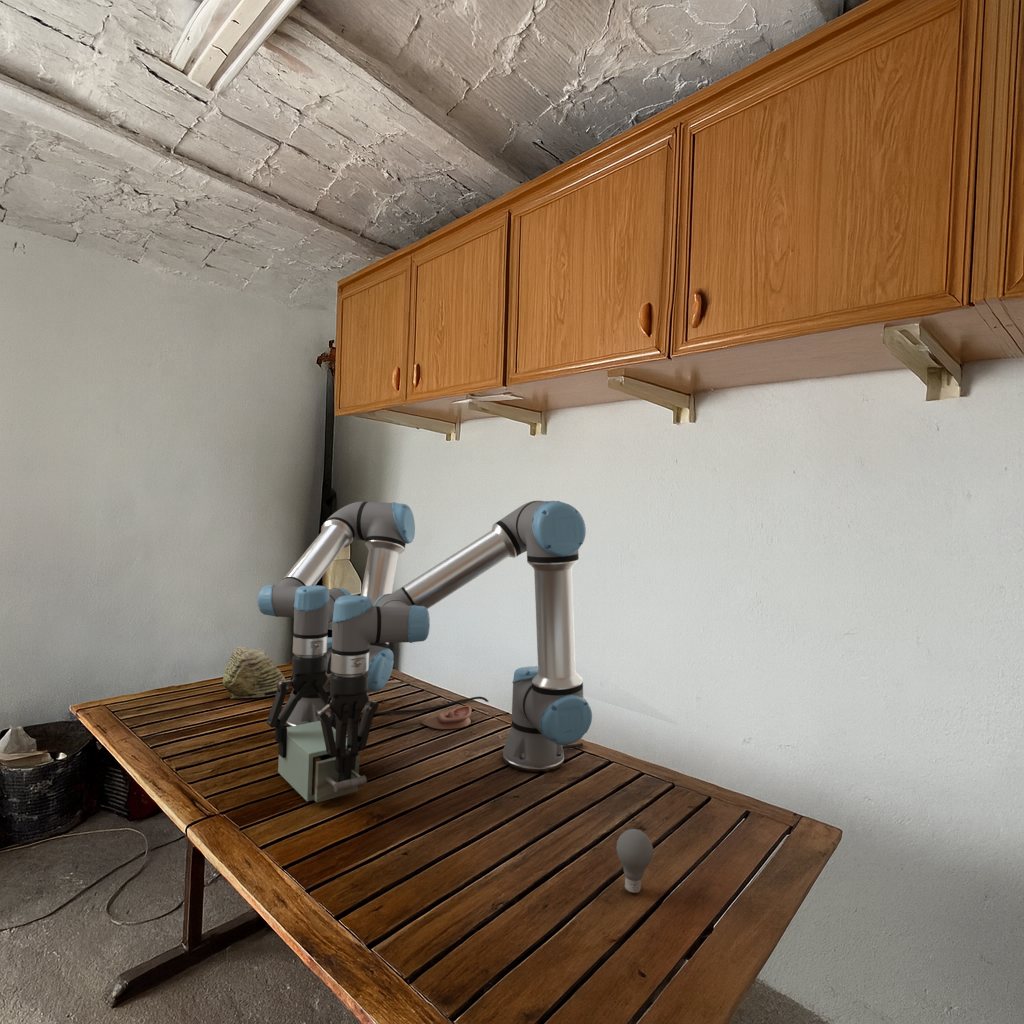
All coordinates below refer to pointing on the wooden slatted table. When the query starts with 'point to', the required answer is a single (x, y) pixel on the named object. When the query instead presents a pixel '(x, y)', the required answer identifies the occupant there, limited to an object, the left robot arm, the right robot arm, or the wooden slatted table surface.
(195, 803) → the wooden slatted table surface
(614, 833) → the wooden slatted table surface
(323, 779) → the drawer
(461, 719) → the anatomical model
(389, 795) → the wooden slatted table surface
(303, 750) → the cabinet
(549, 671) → the right robot arm
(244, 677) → the fossil
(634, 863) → the light bulb
